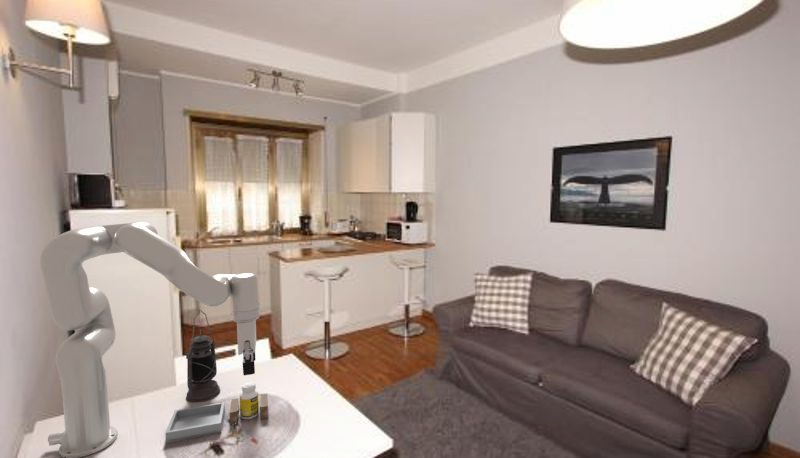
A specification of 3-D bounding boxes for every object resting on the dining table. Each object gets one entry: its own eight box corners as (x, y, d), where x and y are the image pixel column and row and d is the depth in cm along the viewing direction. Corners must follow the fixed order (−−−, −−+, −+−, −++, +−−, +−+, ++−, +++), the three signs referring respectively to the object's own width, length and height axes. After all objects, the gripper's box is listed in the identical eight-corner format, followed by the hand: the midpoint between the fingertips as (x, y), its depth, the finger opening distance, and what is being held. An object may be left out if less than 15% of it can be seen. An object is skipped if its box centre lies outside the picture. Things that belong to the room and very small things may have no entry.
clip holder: (229, 425, 115) (229, 412, 114) (231, 411, 122) (231, 399, 122) (267, 418, 118) (267, 405, 118) (267, 405, 126) (267, 393, 125)
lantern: (204, 383, 140) (200, 303, 138) (229, 387, 137) (225, 305, 135) (176, 401, 128) (171, 313, 126) (202, 405, 125) (198, 316, 123)
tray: (166, 443, 106) (165, 432, 106) (175, 419, 118) (174, 410, 117) (221, 432, 111) (220, 422, 111) (225, 410, 122) (224, 401, 122)
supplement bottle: (252, 420, 117) (251, 390, 116) (236, 418, 118) (235, 388, 117) (262, 411, 122) (261, 381, 121) (247, 409, 123) (245, 380, 122)
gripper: (235, 307, 124) (238, 358, 126) (230, 324, 108) (234, 382, 110) (259, 305, 127) (262, 354, 128) (259, 321, 110) (262, 377, 112)
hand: (249, 367), depth 119 cm, fingers open, 9 cm apart
